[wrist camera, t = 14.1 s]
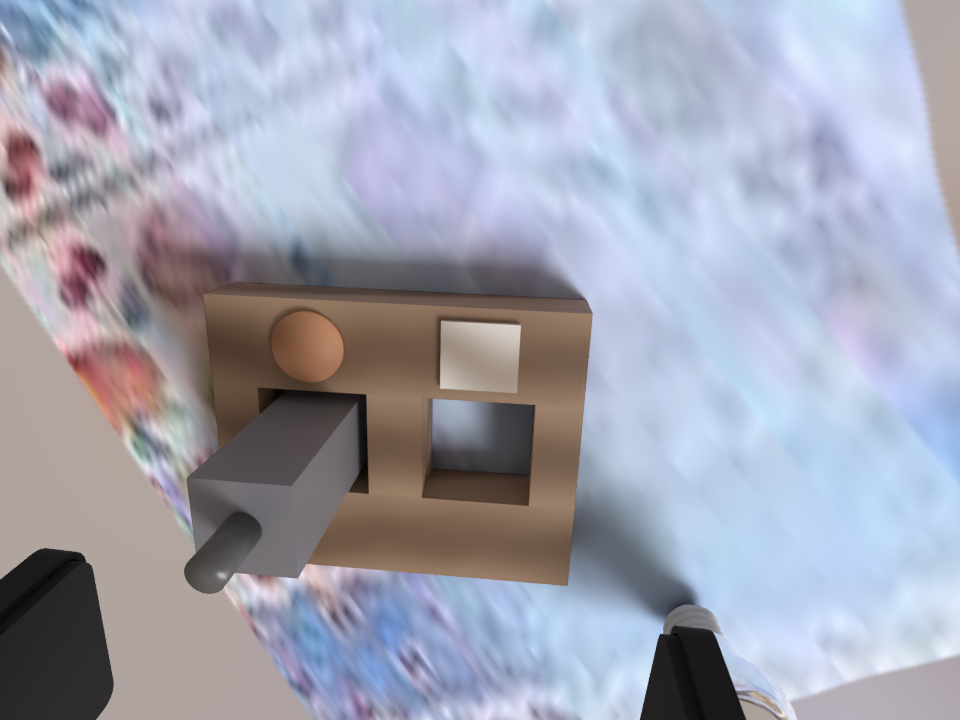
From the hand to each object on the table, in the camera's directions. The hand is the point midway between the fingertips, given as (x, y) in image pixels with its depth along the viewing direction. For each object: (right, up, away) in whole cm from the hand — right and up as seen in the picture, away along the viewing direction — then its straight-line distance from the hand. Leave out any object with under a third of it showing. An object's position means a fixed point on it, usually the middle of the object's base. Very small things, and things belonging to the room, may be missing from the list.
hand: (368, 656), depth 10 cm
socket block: (-3, +1, +26) cm, 26 cm away
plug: (-7, +1, +26) cm, 27 cm away
